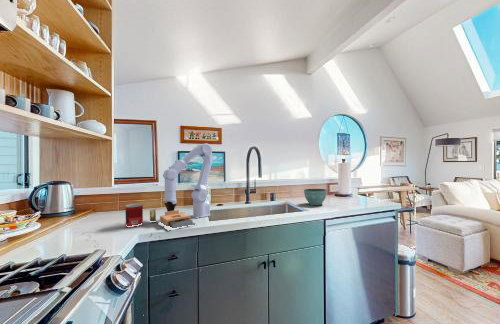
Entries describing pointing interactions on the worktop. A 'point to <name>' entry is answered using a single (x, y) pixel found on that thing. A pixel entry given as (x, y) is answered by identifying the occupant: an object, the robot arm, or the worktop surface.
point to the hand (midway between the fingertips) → (170, 215)
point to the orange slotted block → (173, 216)
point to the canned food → (134, 214)
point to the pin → (153, 215)
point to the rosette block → (180, 223)
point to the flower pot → (315, 196)
